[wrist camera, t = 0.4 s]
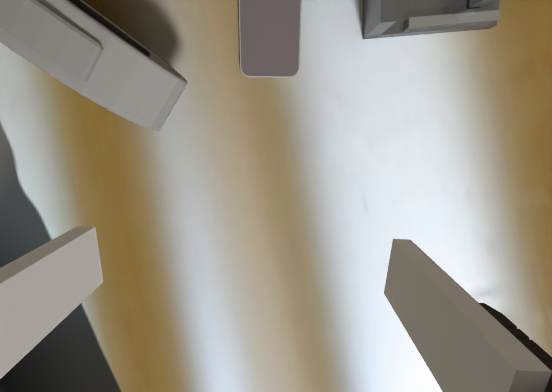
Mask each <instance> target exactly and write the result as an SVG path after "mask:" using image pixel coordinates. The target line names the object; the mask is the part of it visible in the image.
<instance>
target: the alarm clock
mask: <svg viewBox="0 0 552 392" xmlns="http://www.w3.org/2000/svg"><path fill="white" fill-rule="evenodd" d="M0 42H1V43H3V44H4V45H5V46H7V47H8V48H10V49H11V50H12V51H14V52H15V53H17V54H18V55H20V56H22V57H23V58H25V59H26V60H28V61H29V62H31V63H32V64H34V65H35V66H37V67H38V68H40V69H41V70H43V71H44V72H46V73H47V74H49V75H51V76H52V77H54V78H55V79H57V80H59V81H60V82H62V83H64V84H65V85H67V86H68V87H70V88H72V89H73V90H75V91H77V92H78V93H80V94H81V95H83V96H85V97H87V98H89V99H90V100H92V101H94V102H96V103H97V104H99V105H101V106H103V107H104V108H106V109H108V110H110V111H112V112H114V113H116V114H118V115H120V116H122V117H124V118H126V119H128V120H130V121H132V122H134V123H136V124H138V125H141V126H143V127H146V128H148V129H152V130H157V131H159V130H160V128H161V127H162V125H163V123H164V122H165V120H166V119H167V117H168V115H169V114H170V112H171V110H172V109H173V107H174V105H175V104H176V102H177V100H178V99H179V97H180V95H181V94H182V92H183V90H184V89H185V87H186V85H187V81H186V79H185V78H184V77H182V76H181V75H180V74H179V73H178V72H177V71H175V70H174V69H173V68H172V67H171V66H169V65H168V64H167V63H166V62H164V61H163V60H162V59H161V58H159V57H158V56H157V55H155V54H154V53H153V52H151V51H150V50H149V49H148V48H146V47H145V46H144V45H142V44H141V43H140V42H138V41H137V40H136V39H134V38H133V37H132V36H130V35H129V34H128V33H126V32H125V31H124V30H122V29H121V28H120V27H118V26H117V25H116V24H114V23H113V22H112V21H110V20H109V19H108V18H106V17H105V16H103V15H102V14H101V13H99V12H98V11H97V10H95V9H94V8H93V7H91V6H90V5H88V4H87V3H86V2H84V1H83V0H0Z"/></svg>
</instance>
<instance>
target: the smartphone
mask: <svg viewBox="0 0 552 392" xmlns="http://www.w3.org/2000/svg"><path fill="white" fill-rule="evenodd" d="M301 4H302V0H239V35H240V69H241V72H242V73H243V74H244V75H245V76H247V77H263V78H264V77H265V78H267V77H273V78H292V77H294V76H296V75H297V73H298V71H299V65H300V35H301Z"/></svg>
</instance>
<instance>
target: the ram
mask: <svg viewBox="0 0 552 392" xmlns="http://www.w3.org/2000/svg"><path fill="white" fill-rule="evenodd" d="M491 1H493V0H469V8H472V7H482V6H484V5H486V4H488V3H490V2H491Z"/></svg>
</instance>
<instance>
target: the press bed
mask: <svg viewBox="0 0 552 392" xmlns="http://www.w3.org/2000/svg"><path fill="white" fill-rule="evenodd" d="M498 8H499V0H493V1H491V2H490V3H488V4H486V5H484V6H482V7H472V8H469V0H363V39H371V38H383V37H395V36H407V35H419V34H431V33H443V32H455V31H467V30H479V29H489V28H492V27H494V26H496V25H497V21H498V20H499V15H500V10H498Z"/></svg>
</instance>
